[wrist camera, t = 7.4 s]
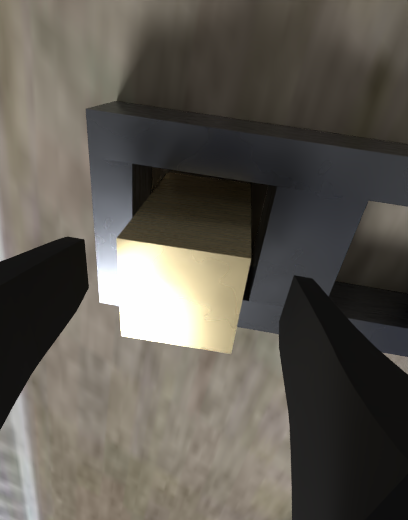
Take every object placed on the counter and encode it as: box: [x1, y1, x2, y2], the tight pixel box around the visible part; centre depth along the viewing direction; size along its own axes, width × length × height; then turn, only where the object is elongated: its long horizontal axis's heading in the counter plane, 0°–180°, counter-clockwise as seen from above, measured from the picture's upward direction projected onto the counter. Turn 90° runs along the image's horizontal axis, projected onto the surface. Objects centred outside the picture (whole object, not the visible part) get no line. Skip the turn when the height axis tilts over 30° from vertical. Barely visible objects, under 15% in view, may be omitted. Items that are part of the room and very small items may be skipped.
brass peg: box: [116, 172, 251, 354], centre depth 13 cm, size 4×4×7 cm
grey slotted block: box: [86, 101, 408, 357], centre depth 15 cm, size 18×9×3 cm, turn 83°
